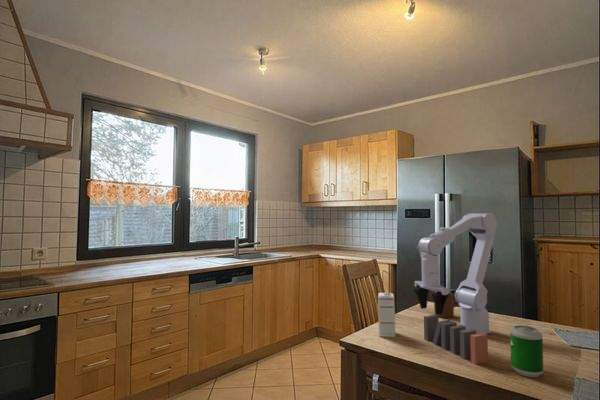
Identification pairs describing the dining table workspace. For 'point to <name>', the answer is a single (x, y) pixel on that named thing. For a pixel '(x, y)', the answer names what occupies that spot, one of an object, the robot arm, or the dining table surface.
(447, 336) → the domino
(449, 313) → the mug
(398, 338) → the dining table surface
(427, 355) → the dining table surface
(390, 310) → the syrup box
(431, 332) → the domino
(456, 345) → the domino
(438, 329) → the domino
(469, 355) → the domino
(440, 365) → the dining table surface
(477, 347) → the domino
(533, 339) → the soda can
